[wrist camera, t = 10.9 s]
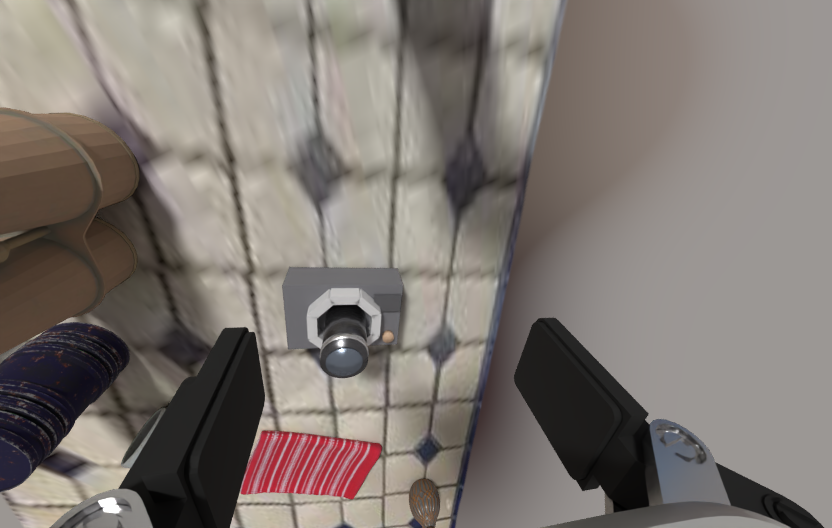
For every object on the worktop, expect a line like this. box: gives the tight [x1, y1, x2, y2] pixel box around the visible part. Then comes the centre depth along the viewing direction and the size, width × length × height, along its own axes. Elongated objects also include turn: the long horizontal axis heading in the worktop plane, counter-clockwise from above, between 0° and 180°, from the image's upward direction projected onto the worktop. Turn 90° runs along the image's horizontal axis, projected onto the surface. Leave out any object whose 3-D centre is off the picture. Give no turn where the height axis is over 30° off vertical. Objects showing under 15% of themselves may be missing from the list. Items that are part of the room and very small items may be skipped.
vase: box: [409, 479, 440, 528], centre depth 67 cm, size 7×7×9 cm
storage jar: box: [0, 322, 130, 492], centre depth 34 cm, size 10×10×15 cm
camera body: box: [282, 267, 403, 349], centre depth 42 cm, size 10×15×7 cm, turn 84°
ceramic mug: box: [121, 408, 166, 468], centre depth 45 cm, size 11×8×8 cm
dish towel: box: [240, 431, 382, 499], centre depth 60 cm, size 17×24×3 cm
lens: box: [320, 305, 369, 378], centre depth 37 cm, size 5×5×8 cm
